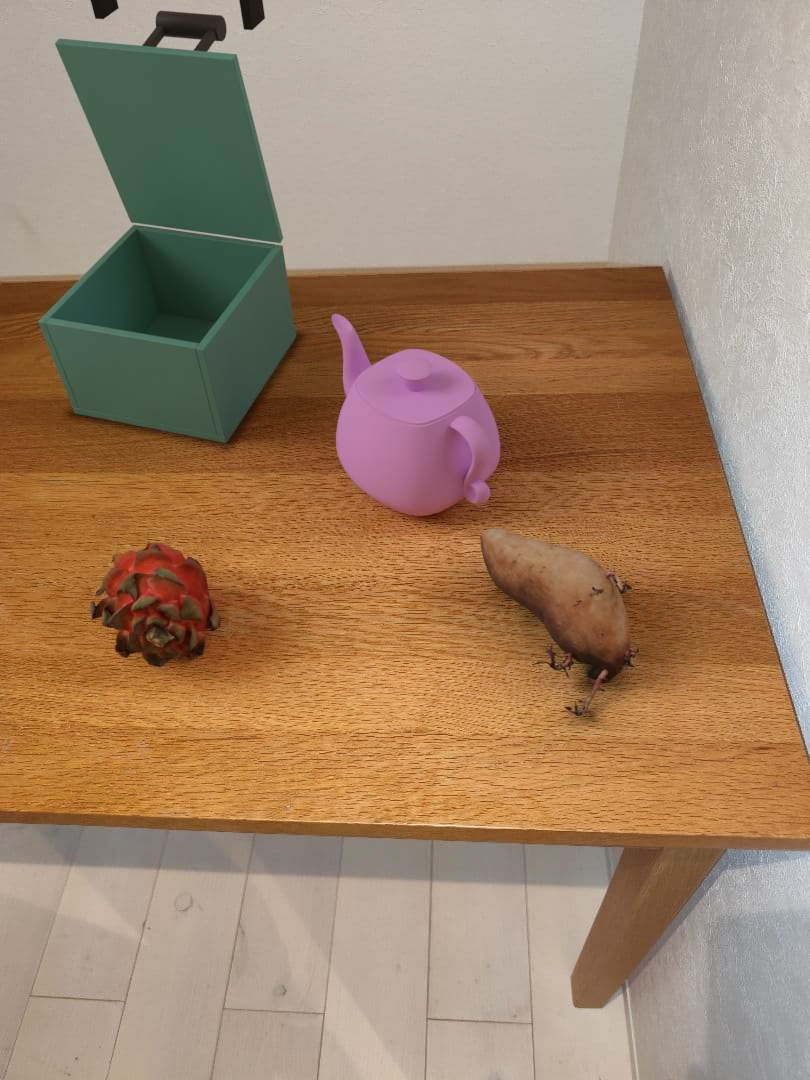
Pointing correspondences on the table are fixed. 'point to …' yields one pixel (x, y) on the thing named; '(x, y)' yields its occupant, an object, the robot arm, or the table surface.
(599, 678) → the vegetable
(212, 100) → the chest lid
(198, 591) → the dragon fruit
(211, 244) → the storage chest
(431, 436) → the teapot
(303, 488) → the table surface
